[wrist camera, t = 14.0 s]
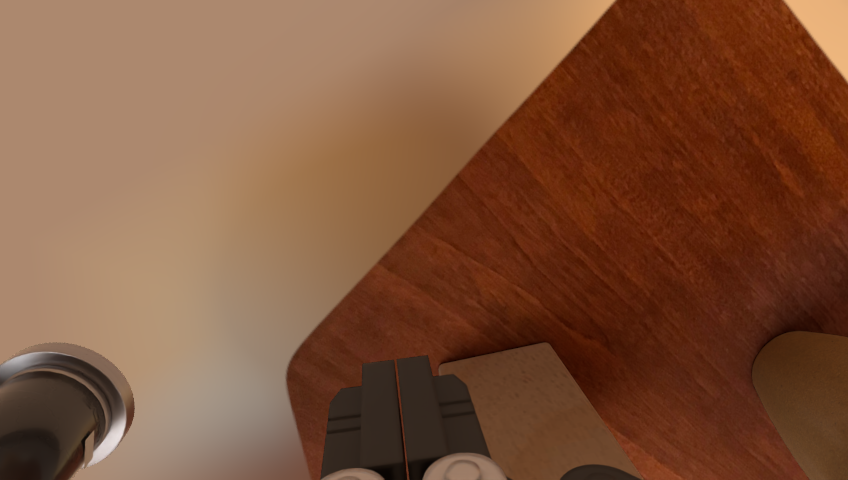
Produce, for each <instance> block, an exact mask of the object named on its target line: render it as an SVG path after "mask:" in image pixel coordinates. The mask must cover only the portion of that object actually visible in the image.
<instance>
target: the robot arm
mask: <svg viewBox="0 0 848 480" xmlns="http://www.w3.org/2000/svg"><path fill="white" fill-rule="evenodd" d="M397 366H398V376H399V386H400V395H401V405H402V414H403V424H404V433H405V443H406V452H407V462H408V471H409V479H410V480H512V479H510V478H509V477H507V476H505V474H504V472H503V470H502V469H501V467H500V466H499V465H498V464H497V463H496V462H495V461H493V460H492V459H491V456H490V453H489V450H488V447H487V444H486V441H485V438H484V435H483V432H482V429H481V426H480V423H479V420H478V417H477V414H476V412H475V408H474V405H473V402H472V400H471V396H470V393H469V390H468V387H467V385H466V384H465V383H464V382H463V381H461V380H460V379H459V378H458V377H457V376H455V375H454V374H448V375H441V376H432V372H431V367H430V363H429V358H428V355H426V356H418V357H410V358H402V359H397ZM110 424H111V412H110V407H109V404H108V402H107V400H106V397H105V396H104V394H103V393H102V391H101V390H100V389H99V388H98V387H97V386H96V385H95V384H94V383H93V382H92V381H91V380H89V379H88V378H87V377H85V376H83V375H82V374H80V373H78V372H76V371H73V370H70V369H67V368H64V367H59V366H50V365H43V366H35V367H30V368H27V369H24V370H21V371H19V372H17V373H16V374H14V375H12V376H11V377H10V378H9V379H7V380H6V381H5V382H3V383H2V384H1V385H0V480H71V479H72V478H73V477H74V476H75V474H76V473H77V472H78V471H79V469H80V468H81V467H82V466H83V464H84V468H85V467H86V466H87V465H88V464H89V462H90V461H91V460H92V458H93V452H94V451H95V450H96V449H97V448H98V447H99V446H100V444H101V443H102V442H103V440H104V439H105V437H106V436H107V434H108V431H109V429H110ZM320 480H407V473H406V463H405V452H404V443H403V433H402V424H401V415H400V407H399V398H398V390H397V381H396V372H395V364H394V360H388V361H380V362H372V363H364V364H363V365H362V386H358V387H351V388H343V389H341V390H340V391H339V392H338V393H337V395H336V396H335V397H334V399H333V400H332V401H331V403H330V407H329V415H328V423H327V435H326V439H325V447H324V455H323V463H322V471H321V479H320ZM560 480H642V479H640V478H638V477H636V476H633V475H631V474H629V473H627V472H625V471H623V470H620V469H618V468H615V467H611V466H607V465H599V464H589V465H582V466H578V467H575V468H573V469H571V470H569V471H568V472H566V473H565V474H564V475H563V476H562V477H561V478H560Z"/></svg>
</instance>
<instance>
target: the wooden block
mask: <svg viewBox="0 0 848 480" xmlns="http://www.w3.org/2000/svg"><path fill="white" fill-rule="evenodd" d="M438 372H439V376H441V375H448V374H454V375H455V376H457V377H458V378H459V379H460V380H461V381H463V382H464V383H465V384H466V385H467V387H468V390H469V393H470V396H471V400H472V402H473V405H474V408H475V412H476V414H477V417H478V420H479V423H480V426H481V429H482V432H483V435H484V438H485V441H486V444H487V447H488V450H489V453H490V456H491V459H492V460H493V461H495V462H496V463H497V464H498V465H499V466H500V467H501V469H502V470H503V472H504V474H505V476H507V477H509V478H510V479H512V480H560V478H561V477H562V476H563V475H564V474H565V473H566V472H568V471H569V470H571V469H573V468H575V467H578V466H582V465H589V464H599V465H607V466H611V467H615V468H618V469H620V470H623V471H625V472H627V473H629V474H631V475H633V476H636V477H638V478H640V479H642V480H644V479H643V478H642V476H641V475H640V473H639V472H638V471H637V469H636V468H635V466H634V465H633V463H632V462H631V460H630V459H629V458H628V456H627V455H626V453H625V452H624V450H623V449H622V448H621V446H620V445H619V443H618V442H617V440H616V439H615V437H614V436H613V435H612V433H611V432H610V430H609V429H608V427H607V426H606V425H605V423H604V422H603V420H602V419H601V417H600V416H599V414H598V413H597V412H596V410H595V409H594V407H593V406H592V404H591V403H590V402H589V400H588V399H587V397H586V396H585V394H584V393H583V391H582V390H581V389H580V387H579V386H578V384H577V383H576V381H575V380H574V379H573V377H572V376H571V374H570V373H569V371H568V370H567V368H566V367H565V366H564V364H563V363H562V361H561V360H560V358H559V357H558V356H557V354H556V353H555V351H554V350H553V348H552V347H551V345H550V344H549V343H539V344H535V345H530V346H525V347H520V348H515V349H511V350H506V351H501V352H496V353H492V354H487V355H482V356H477V357H472V358H468V359H463V360H458V361H453V362H449V363H444V364H441V365H440V366H439V370H438Z"/></svg>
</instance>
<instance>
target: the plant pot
mask: <svg viewBox="0 0 848 480" xmlns="http://www.w3.org/2000/svg"><path fill="white" fill-rule="evenodd" d="M752 382H753V385H754V387H755V390H756V392H757V394H758V396H759V398H760V400H761V402H762V404H763V406H764V408H765V410H766V412H767V413H768V415H769V417H770V419H771V421H772V423H773V424H774V426H775V428H776V430H777V431H778V433H779V435H780V436H781V438H782V439H783V441H784V443H785V444H786V446H787V447H788V449H789V450H790V452H791V453H792V455H793V456H794V458H795V459H796V461H797V462H798V464H799V465H800V467H801V468H802V470H803V471H804V472H805V474H806V475H807V477H808V478H809V479H810V480H848V337H845V336H839V335H832V334H824V333H816V332H806V331H793V332H787V333H784V334H782V335H779V336H777V337H776V338H774V339H772V340H771V341H770V342H769V343H767V344H766V345H765V346H764V347H763V348H762V349H761V351H760V352H759V354H758V355H757V357H756V359H755V361H754V364H753V368H752Z"/></svg>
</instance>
